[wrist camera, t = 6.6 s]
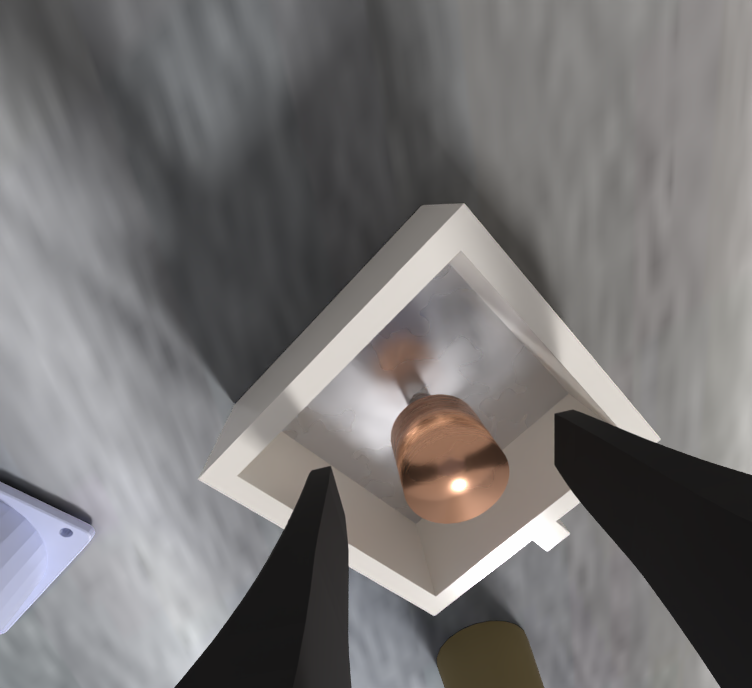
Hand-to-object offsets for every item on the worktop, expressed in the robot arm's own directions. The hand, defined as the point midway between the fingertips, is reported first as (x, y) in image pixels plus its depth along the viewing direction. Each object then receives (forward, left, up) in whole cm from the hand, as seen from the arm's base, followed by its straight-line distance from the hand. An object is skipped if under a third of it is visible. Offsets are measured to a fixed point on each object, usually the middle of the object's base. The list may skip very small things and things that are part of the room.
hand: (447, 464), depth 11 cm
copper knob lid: (0, 0, -4) cm, 4 cm away
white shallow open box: (0, 0, -5) cm, 5 cm away
